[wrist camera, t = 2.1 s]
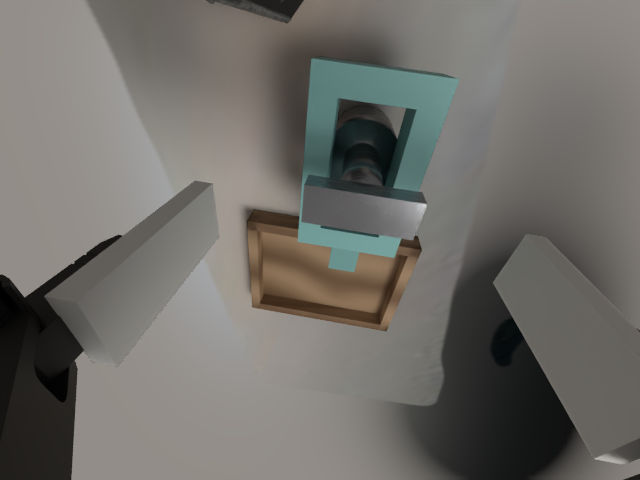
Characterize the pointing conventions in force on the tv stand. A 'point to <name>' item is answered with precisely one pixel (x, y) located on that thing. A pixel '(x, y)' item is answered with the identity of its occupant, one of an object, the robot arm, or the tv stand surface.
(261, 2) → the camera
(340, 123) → the mallet
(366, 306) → the tray
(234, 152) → the tv stand surface
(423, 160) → the teal rectangular frame
